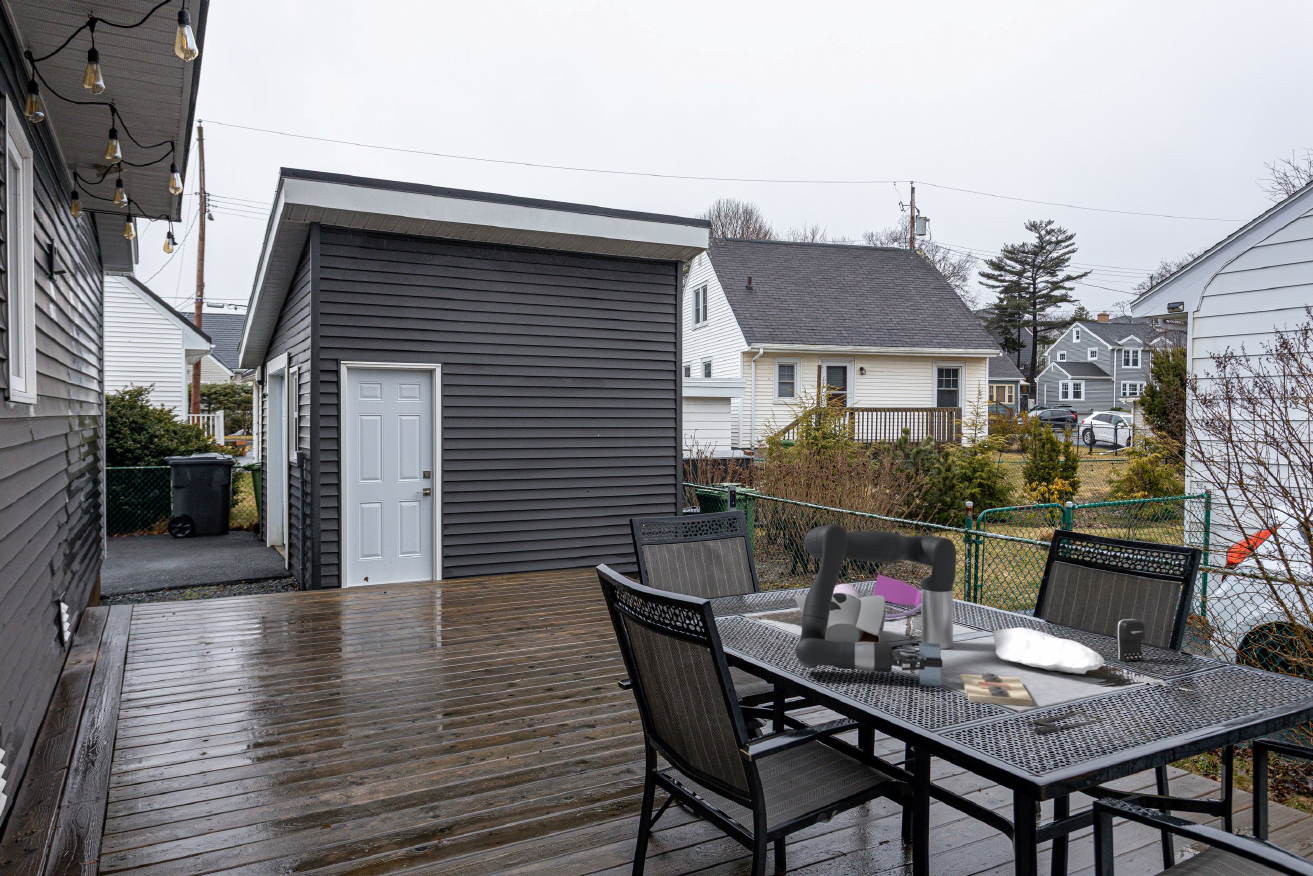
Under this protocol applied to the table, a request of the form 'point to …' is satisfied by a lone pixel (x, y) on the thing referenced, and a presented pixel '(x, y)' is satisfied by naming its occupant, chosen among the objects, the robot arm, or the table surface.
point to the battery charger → (1130, 639)
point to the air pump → (889, 593)
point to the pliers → (1155, 682)
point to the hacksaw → (1055, 728)
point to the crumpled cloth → (1045, 651)
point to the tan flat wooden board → (995, 689)
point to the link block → (930, 673)
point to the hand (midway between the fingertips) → (941, 660)
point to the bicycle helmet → (853, 618)
